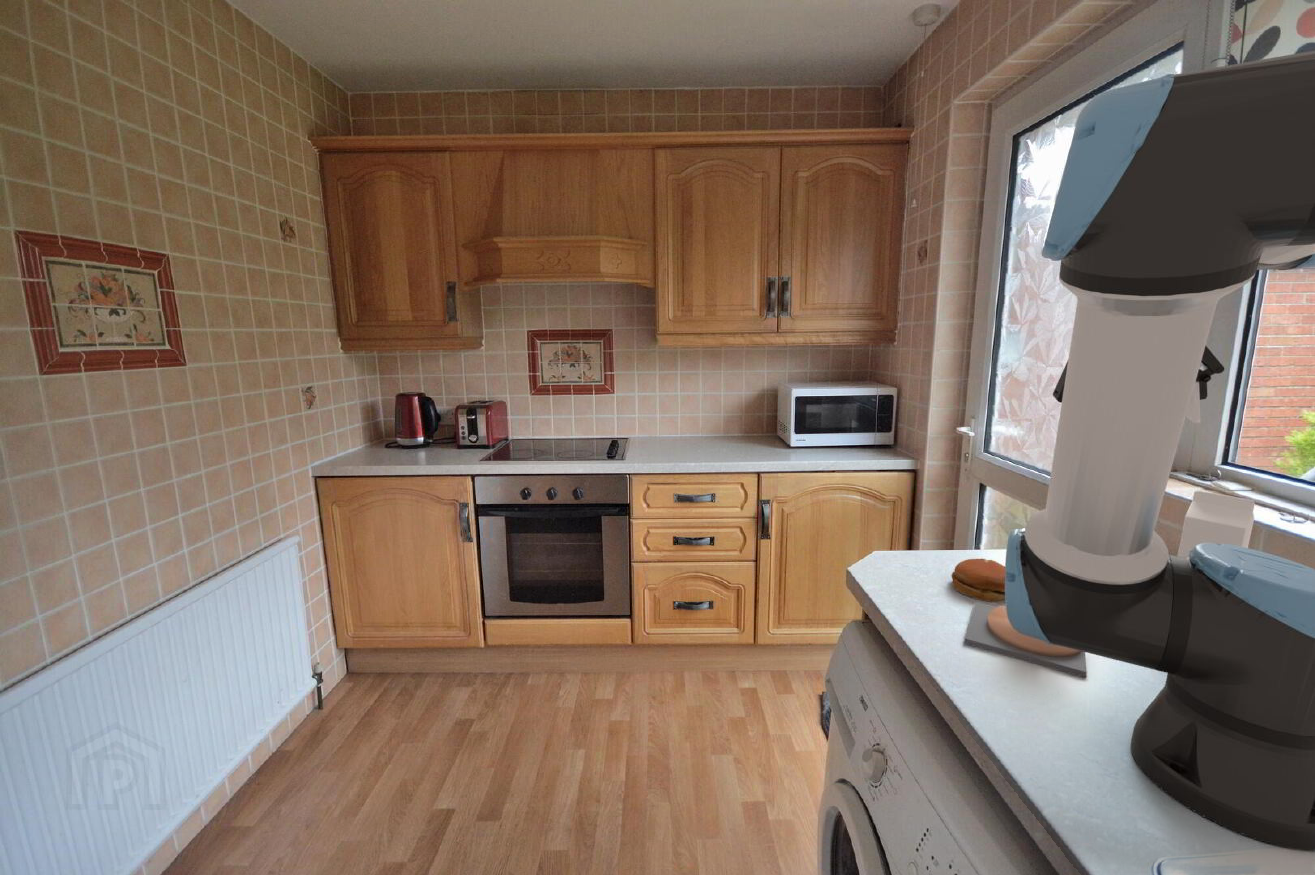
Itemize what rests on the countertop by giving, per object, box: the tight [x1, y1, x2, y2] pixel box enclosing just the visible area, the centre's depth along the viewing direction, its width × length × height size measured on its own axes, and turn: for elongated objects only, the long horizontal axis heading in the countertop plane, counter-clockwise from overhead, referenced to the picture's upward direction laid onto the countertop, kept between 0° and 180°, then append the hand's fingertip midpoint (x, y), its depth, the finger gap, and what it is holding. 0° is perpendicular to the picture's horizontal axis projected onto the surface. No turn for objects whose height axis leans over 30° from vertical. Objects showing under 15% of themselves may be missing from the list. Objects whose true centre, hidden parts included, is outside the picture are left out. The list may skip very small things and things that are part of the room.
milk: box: [1177, 490, 1256, 558], centre depth 79 cm, size 6×6×22 cm
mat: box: [963, 601, 1088, 679], centre depth 82 cm, size 13×14×1 cm
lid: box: [987, 605, 1081, 657], centre depth 81 cm, size 12×12×10 cm
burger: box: [950, 558, 1006, 603], centre depth 97 cm, size 10×9×5 cm
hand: (1137, 428), depth 88 cm, fingers open, 13 cm apart
